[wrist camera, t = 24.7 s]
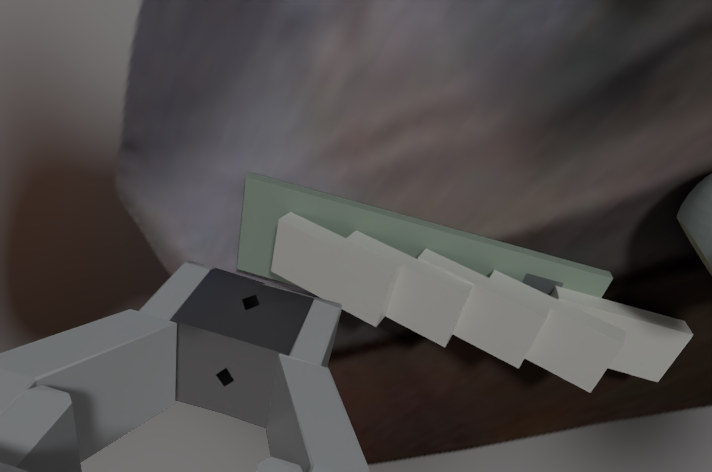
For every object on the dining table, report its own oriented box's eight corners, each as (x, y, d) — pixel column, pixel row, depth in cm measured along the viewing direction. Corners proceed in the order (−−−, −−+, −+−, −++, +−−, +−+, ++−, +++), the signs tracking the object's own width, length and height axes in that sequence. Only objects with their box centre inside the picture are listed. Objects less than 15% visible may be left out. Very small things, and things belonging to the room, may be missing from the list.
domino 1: (270, 271, 45) (375, 327, 41) (278, 219, 42) (392, 274, 39) (282, 262, 46) (385, 316, 43) (290, 211, 43) (401, 265, 40)
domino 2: (333, 289, 45) (445, 347, 41) (346, 238, 42) (466, 296, 38) (343, 280, 46) (451, 335, 43) (356, 230, 43) (473, 285, 40)
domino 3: (400, 307, 44) (518, 368, 41) (418, 256, 41) (546, 318, 38) (408, 297, 46) (523, 356, 42) (426, 248, 43) (550, 306, 39)
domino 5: (533, 347, 43) (657, 382, 43) (559, 298, 40) (693, 335, 40) (530, 333, 45) (651, 367, 44) (555, 285, 42) (684, 321, 41)
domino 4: (466, 327, 44) (590, 392, 40) (488, 278, 41) (624, 343, 37) (472, 317, 45) (592, 379, 42) (494, 269, 42) (625, 331, 39)
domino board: (240, 263, 49) (236, 269, 48) (250, 172, 43) (245, 176, 43) (560, 355, 47) (562, 363, 46) (609, 271, 42) (613, 278, 41)
